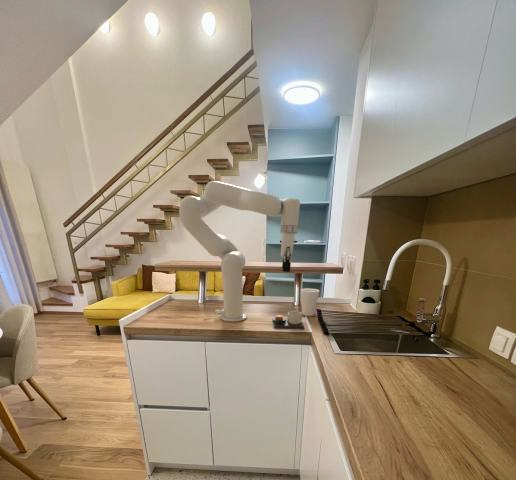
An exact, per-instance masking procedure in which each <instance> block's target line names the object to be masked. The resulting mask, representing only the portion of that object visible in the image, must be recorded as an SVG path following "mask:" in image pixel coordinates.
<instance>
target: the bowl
mask: <svg viewBox="0 0 516 480" xmlns="http://www.w3.org/2000/svg"><path fill="white" fill-rule="evenodd" d="M286 319H287V322H288V323H290V324H300V323H301V322H302V323H303V314H302V311H299V310H298V311H297V310H291V311H287V315H286Z"/></svg>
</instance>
